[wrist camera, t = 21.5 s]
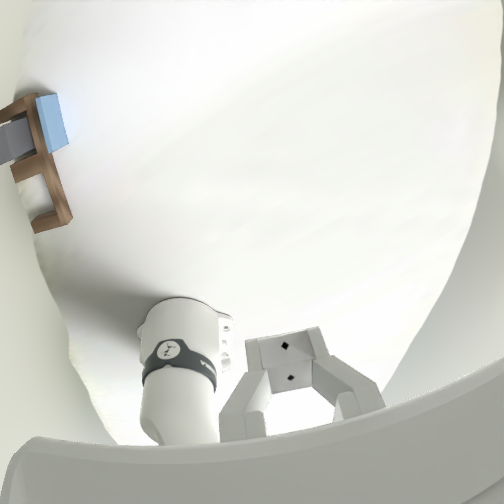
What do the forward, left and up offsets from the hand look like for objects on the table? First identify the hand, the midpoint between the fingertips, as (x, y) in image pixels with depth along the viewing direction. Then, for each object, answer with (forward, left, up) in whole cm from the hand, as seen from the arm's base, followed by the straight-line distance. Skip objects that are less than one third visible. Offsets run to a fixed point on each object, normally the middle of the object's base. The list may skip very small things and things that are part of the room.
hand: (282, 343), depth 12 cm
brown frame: (+6, +29, -34) cm, 45 cm away
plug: (+11, +31, -34) cm, 47 cm away
